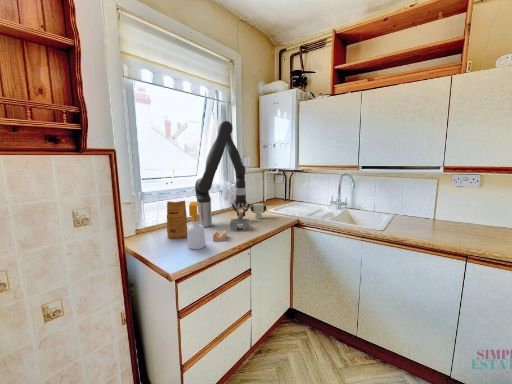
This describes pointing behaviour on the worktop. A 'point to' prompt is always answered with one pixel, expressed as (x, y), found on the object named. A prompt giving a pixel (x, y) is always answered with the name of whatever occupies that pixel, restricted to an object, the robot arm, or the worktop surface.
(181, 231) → the coffee package
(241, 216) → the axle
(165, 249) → the worktop surface
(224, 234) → the v block
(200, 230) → the soap bottle
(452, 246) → the worktop surface
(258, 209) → the pneumatic valve
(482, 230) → the worktop surface
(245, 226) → the grey rectangular block
